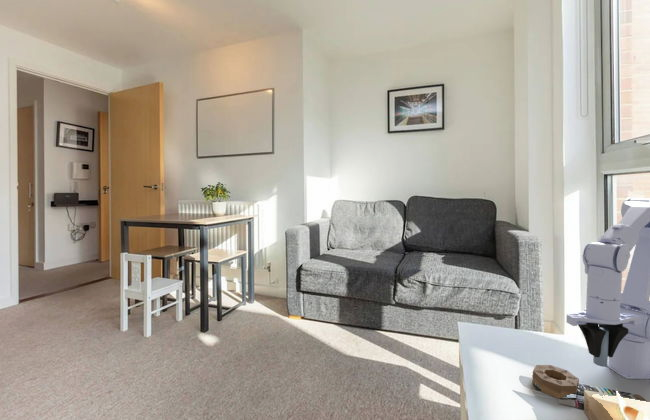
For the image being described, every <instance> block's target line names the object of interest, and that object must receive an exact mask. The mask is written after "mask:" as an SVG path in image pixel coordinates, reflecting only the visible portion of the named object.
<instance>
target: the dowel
mask: <svg viewBox="0 0 650 420" xmlns="http://www.w3.org/2000/svg"><path fill="white" fill-rule="evenodd" d="M600 329H602V330H604V331H606V334H605V336H604V338H603V340H602V344H601V354H600V357H595V356H593V359H592V361H593V362H592V363H594V364H595V365H597V366H598V367H602V368H603V367H605V368H608V367H607V363H608V341H609V330H607V329H605V328H601V327H600Z"/></svg>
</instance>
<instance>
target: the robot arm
mask: <svg viewBox="0 0 650 420" xmlns="http://www.w3.org/2000/svg"><path fill="white" fill-rule="evenodd" d="M620 214H621V217H622V218H621V219H620V221H619V223H618V224H613V225H611V226H609V227H608V228H607V230H606V231H605V232H604V233H603V234H602V235H601V236H600V238H598V240H597V241H594V242H593V241H592V242H591V243H587V244H586V245H585V247H584V248H583V252H582V263H583V264H584V272H585V274H586V275H587V281H586V303H585V304H586V305H585V306H586V307H585V308H584V309H583V310H584V311H579V312H576V313H567V314H566V322H565V323H567V324H569V325H571V326H572V327H577V326H578V328H579V329H580V331H581V333H582V335H583V337H584V340H585V343H586V346H587V349H588V350H587V351H588V353H589V354H590V355H592V356H593V357H594V356H595V357H600V354H601V344H602V340H603V338H604V336H605V334H606V331H604V330H602V329H600V327H601V328H605V329H607V330H609V341H608V363H607V367H606V368H608V369H610V370H612V371H614V373H616V374H618V375H619V376H621V377H623V378H624V379H627V380H650V198H635V197H634V198H633V197H627V198H625V199H624V200H623V202H622V204H621V207H620ZM633 248H634V250H633ZM632 250H633V255H632V258H631V251H632ZM630 258H631V260H630ZM629 260H630V264H629ZM628 264H629V269H628V272H627V276H626V280H625V283H624V287H623V291H622V285H623V284H622V283H623V280H622V279H623V272H624V271H626V269H627V267H628Z"/></svg>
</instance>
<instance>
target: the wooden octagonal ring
mask: <svg viewBox="0 0 650 420" xmlns="http://www.w3.org/2000/svg"><path fill="white" fill-rule="evenodd" d="M579 381H580V380H579V378H578V376H577V377H576V375H574V374H573V373H571V372H570V371H569V370H567V369H564V368H561V367H558V366H554V365H552V364H536V365H535V366H534V368H533V370H532V384H533V385H534V383H536V384H537V385H538V386H539V387H540V389H541V391H542V392H541V391H540V392H541V393H543V394H546V395H549V396H550V397H554V398H557V399H559V398H563V397H565V396H567V395H570V394H573V393H576V392H577V389H578V390H579V387H578V386H579V385H580V384H579Z"/></svg>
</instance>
